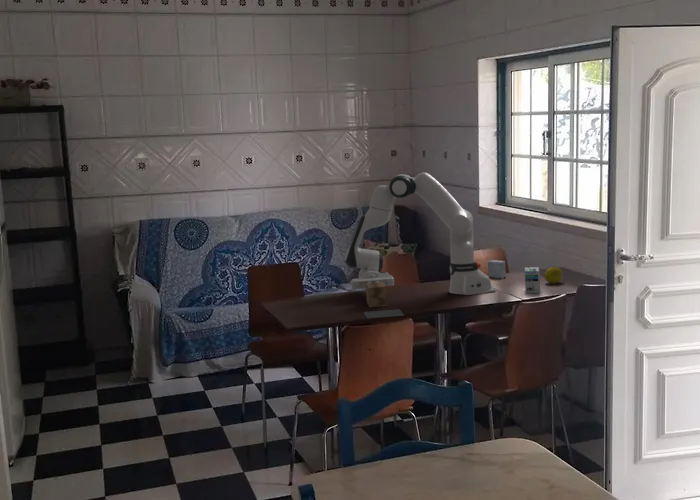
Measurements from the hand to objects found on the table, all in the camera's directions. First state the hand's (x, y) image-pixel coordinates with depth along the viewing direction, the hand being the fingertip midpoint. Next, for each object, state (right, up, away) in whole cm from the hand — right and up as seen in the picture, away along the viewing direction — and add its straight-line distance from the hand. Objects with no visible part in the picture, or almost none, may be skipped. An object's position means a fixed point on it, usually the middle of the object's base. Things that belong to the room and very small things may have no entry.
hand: (374, 285), depth 361 cm
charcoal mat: (+3, -11, -23) cm, 25 cm away
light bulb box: (+74, -3, +5) cm, 74 cm away
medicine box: (+65, +2, +43) cm, 78 cm away
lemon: (+88, 0, +21) cm, 91 cm away
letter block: (+1, -8, -3) cm, 9 cm away
